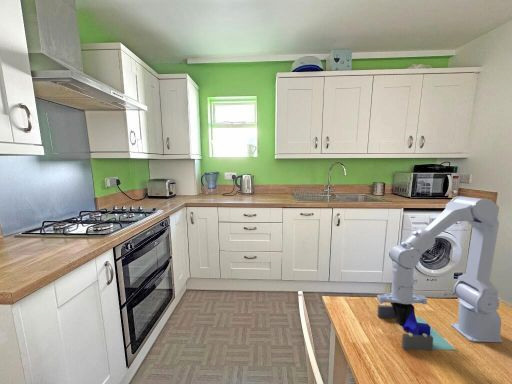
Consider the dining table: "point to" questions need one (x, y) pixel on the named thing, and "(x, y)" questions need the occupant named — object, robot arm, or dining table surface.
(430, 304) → the dining table surface
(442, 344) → the mat
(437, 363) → the dining table surface
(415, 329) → the blue bent block
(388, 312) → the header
